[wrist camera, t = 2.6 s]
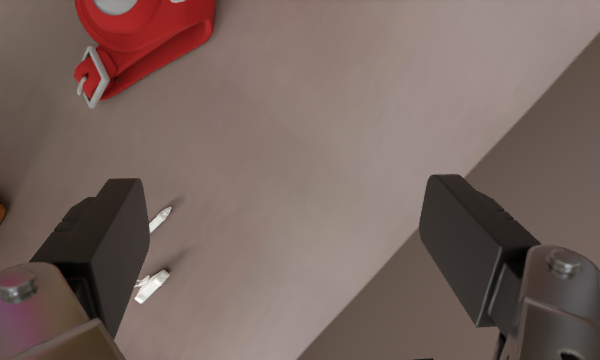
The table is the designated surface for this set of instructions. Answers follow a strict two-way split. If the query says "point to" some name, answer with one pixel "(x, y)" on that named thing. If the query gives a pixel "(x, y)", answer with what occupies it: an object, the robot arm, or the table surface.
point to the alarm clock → (2, 212)
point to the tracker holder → (136, 40)
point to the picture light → (160, 277)
